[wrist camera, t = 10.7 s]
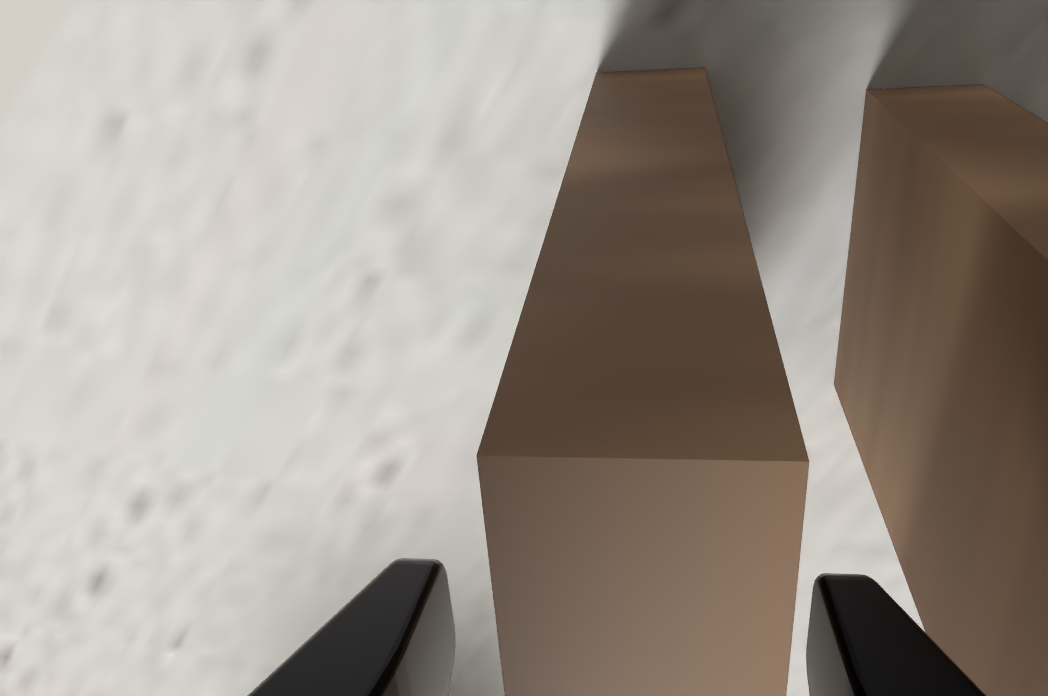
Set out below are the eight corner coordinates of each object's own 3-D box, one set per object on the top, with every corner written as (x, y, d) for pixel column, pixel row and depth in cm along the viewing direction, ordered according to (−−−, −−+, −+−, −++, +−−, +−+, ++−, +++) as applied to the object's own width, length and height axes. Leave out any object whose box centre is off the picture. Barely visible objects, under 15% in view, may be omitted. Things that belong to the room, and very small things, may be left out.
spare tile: (704, 67, 13) (810, 460, 4) (697, 362, 15) (753, 1016, 6) (596, 72, 13) (476, 455, 4) (606, 362, 15) (539, 993, 7)
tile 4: (983, 84, 12) (1778, 557, 4) (931, 384, 15) (1345, 1116, 6) (866, 89, 13) (1354, 547, 4) (834, 384, 15) (1093, 1086, 6)
